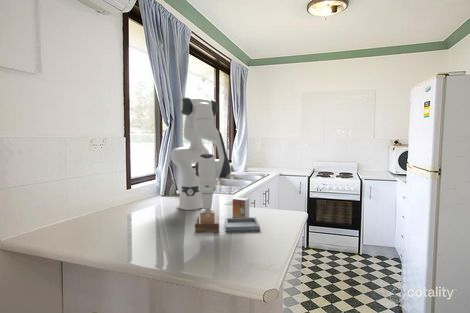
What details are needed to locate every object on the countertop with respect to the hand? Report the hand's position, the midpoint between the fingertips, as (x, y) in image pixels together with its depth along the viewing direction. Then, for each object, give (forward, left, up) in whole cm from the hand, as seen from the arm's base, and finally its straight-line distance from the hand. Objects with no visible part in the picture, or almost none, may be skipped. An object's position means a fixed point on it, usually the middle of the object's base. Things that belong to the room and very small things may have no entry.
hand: (208, 214), depth 144 cm
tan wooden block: (0, -1, -7) cm, 7 cm away
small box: (-17, +17, -7) cm, 26 cm away
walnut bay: (+1, -1, -7) cm, 7 cm away
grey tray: (+1, +16, -7) cm, 18 cm away
